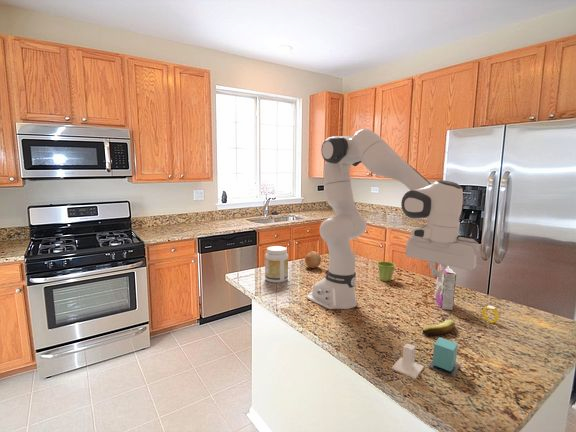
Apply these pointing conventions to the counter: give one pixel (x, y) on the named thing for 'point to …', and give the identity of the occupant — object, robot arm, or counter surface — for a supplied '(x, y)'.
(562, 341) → the counter surface
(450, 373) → the post
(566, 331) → the counter surface
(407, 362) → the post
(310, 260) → the brown round ball
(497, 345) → the counter surface
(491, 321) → the watch
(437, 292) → the candy bar box
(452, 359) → the teal rectangular block
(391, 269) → the plant pot
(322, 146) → the robot arm
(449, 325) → the banana
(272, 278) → the supplement tub
